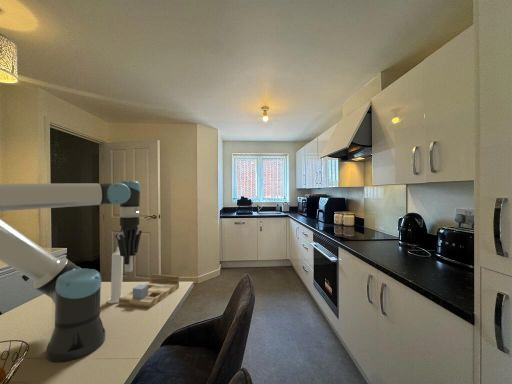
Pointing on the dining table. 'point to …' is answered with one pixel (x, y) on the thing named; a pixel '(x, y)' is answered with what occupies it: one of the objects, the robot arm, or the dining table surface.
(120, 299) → the board
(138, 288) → the block
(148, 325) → the dining table surface
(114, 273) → the candle
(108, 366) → the dining table surface
